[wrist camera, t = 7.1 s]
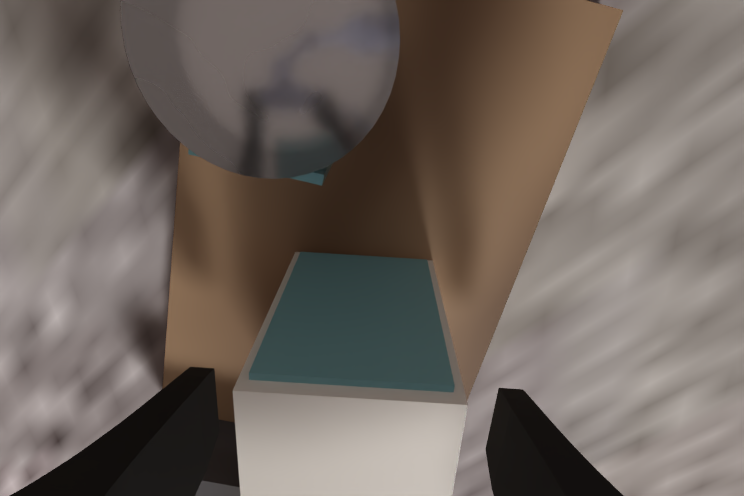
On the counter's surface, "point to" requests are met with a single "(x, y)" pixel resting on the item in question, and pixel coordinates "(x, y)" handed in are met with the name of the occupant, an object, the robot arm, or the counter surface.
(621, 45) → the counter surface
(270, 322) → the carton
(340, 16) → the tin
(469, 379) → the tan wooden panel
